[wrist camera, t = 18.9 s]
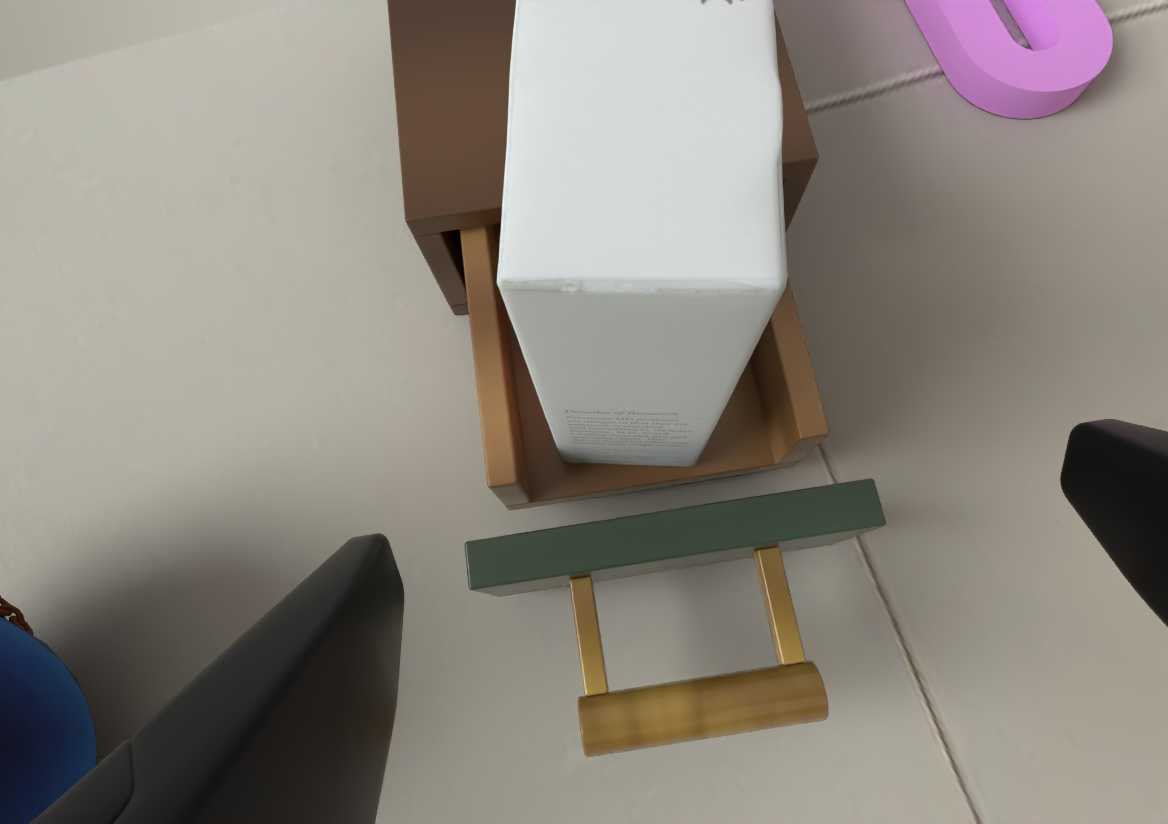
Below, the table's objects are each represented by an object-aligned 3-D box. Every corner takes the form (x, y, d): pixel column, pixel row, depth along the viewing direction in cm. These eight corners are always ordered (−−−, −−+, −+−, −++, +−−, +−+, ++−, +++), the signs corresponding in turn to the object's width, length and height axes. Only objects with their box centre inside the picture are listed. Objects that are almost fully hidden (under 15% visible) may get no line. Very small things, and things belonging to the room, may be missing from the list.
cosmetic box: (565, 290, 23) (515, -53, 11) (695, 291, 22) (781, -57, 11) (557, 470, 21) (486, 284, 9) (698, 474, 21) (803, 288, 9)
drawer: (872, 694, 20) (941, 713, 15) (513, 751, 20) (486, 785, 15) (744, 196, 25) (770, 111, 20) (458, 240, 25) (427, 163, 20)
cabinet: (771, 267, 25) (820, 157, 19) (453, 316, 25) (404, 221, 19) (697, -17, 29) (718, -180, 23) (424, 24, 29) (376, -128, 23)
